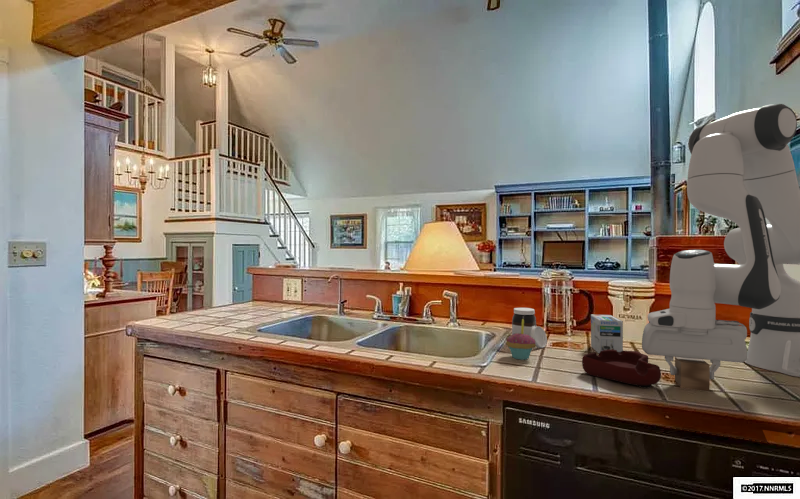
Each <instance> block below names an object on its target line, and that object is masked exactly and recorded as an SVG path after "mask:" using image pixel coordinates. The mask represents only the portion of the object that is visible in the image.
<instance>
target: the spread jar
mask: <svg viewBox="0 0 800 499" xmlns="http://www.w3.org/2000/svg"><path fill="white" fill-rule="evenodd" d="M535 314H536V312H535V309H534V308H531V307H514V308H513V315H512V320H511V335H512V334H515V333H517V334H518V333H519V334H520V333H521V327H522V319H524V332H523V334H526V335H529V336H531V337H533V339H535V343H536V347H535V348H537V349H541V348H545V347H547V344H548V339H547V334H546V331H545V330H544V328H543V327H541V326H539V325H538V326H537V317H536V316H535ZM523 316H524V318H523Z"/></svg>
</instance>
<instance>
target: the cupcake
mask: <svg viewBox="0 0 800 499" xmlns="http://www.w3.org/2000/svg"><path fill="white" fill-rule="evenodd" d="M523 318H524V316H523ZM523 332H524V319H522V327H521V333H520V334H519V333H518V334H517V333H515V334H512V333H511V334H510V335H509V336H508V337H507V338H506V340H505V345H506V346H507V347H508V348H509V350H510V351H509V352H510V353H511V356H512V358H513V359H516V360H523V361H524V360H528V359H529V358H530V356H531V354H532V353H531V352H532V350H533V349H535V348H537V347H536V343H535V339H533V337H531V336H529V335H526V334H523Z"/></svg>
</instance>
